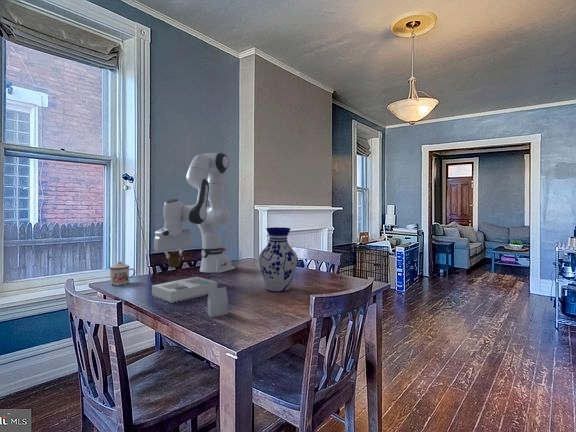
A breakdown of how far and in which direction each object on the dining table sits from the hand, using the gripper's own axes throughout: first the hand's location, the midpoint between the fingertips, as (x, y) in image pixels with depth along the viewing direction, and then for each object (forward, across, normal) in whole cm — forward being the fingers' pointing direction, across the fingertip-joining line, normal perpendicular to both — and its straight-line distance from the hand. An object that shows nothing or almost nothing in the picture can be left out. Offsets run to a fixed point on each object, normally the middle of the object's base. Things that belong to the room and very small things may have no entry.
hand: (174, 257), depth 176 cm
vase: (+14, -27, +48) cm, 57 cm away
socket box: (+13, +8, +22) cm, 27 cm away
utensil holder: (+5, 0, 0) cm, 5 cm away
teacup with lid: (+13, +18, -20) cm, 30 cm away
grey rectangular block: (+13, +15, +55) cm, 59 cm away
